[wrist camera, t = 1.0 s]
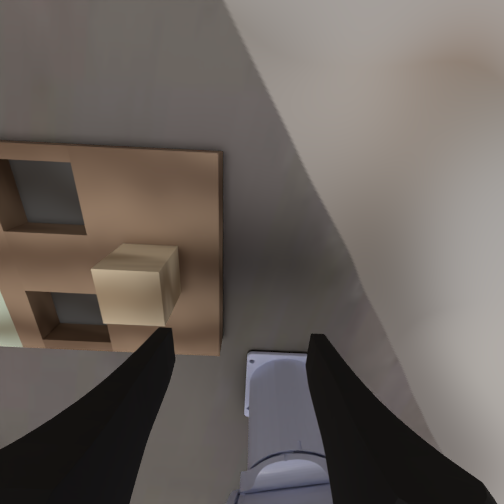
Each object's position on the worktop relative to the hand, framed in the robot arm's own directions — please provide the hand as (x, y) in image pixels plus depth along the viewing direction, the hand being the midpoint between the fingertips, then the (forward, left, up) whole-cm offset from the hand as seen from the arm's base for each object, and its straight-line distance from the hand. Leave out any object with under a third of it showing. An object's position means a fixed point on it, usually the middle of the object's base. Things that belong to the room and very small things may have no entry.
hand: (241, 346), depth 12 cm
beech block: (0, +7, -8) cm, 11 cm away
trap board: (0, +14, -10) cm, 17 cm away
